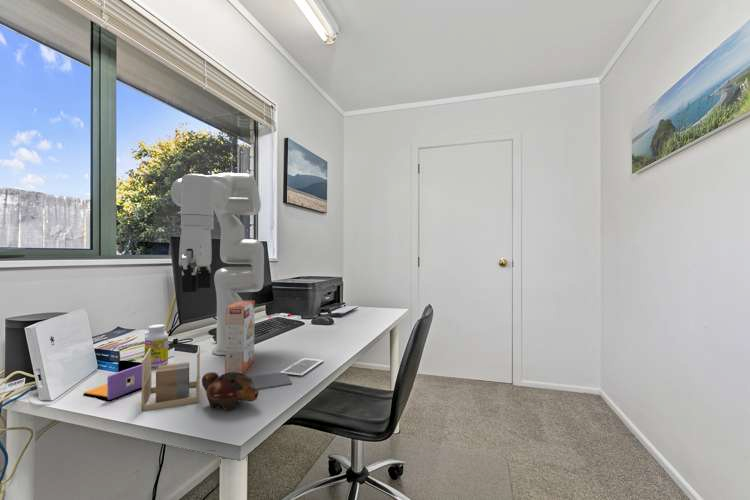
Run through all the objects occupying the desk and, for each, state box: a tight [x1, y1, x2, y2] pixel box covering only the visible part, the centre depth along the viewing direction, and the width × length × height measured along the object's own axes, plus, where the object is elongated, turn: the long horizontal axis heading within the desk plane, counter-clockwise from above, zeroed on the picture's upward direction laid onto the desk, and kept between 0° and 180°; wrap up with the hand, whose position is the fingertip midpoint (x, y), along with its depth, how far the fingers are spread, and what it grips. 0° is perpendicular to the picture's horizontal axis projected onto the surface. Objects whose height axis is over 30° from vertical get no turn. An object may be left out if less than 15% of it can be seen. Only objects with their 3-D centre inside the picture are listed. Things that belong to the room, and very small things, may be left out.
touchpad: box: [278, 357, 325, 376], centre depth 111 cm, size 8×15×2 cm, turn 163°
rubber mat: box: [250, 372, 293, 391], centre depth 100 cm, size 10×10×1 cm
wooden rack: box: [141, 342, 201, 412], centre depth 88 cm, size 12×12×12 cm
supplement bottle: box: [144, 323, 169, 368], centre depth 114 cm, size 7×7×13 cm
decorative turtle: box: [201, 371, 260, 412], centre depth 83 cm, size 10×15×8 cm, turn 79°
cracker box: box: [224, 300, 256, 375], centre depth 111 cm, size 14×6×21 cm, turn 7°
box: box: [155, 361, 190, 403], centre depth 88 cm, size 5×7×8 cm
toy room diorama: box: [82, 359, 142, 403], centre depth 92 cm, size 12×12×7 cm
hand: (197, 289), depth 88 cm, fingers open, 9 cm apart
